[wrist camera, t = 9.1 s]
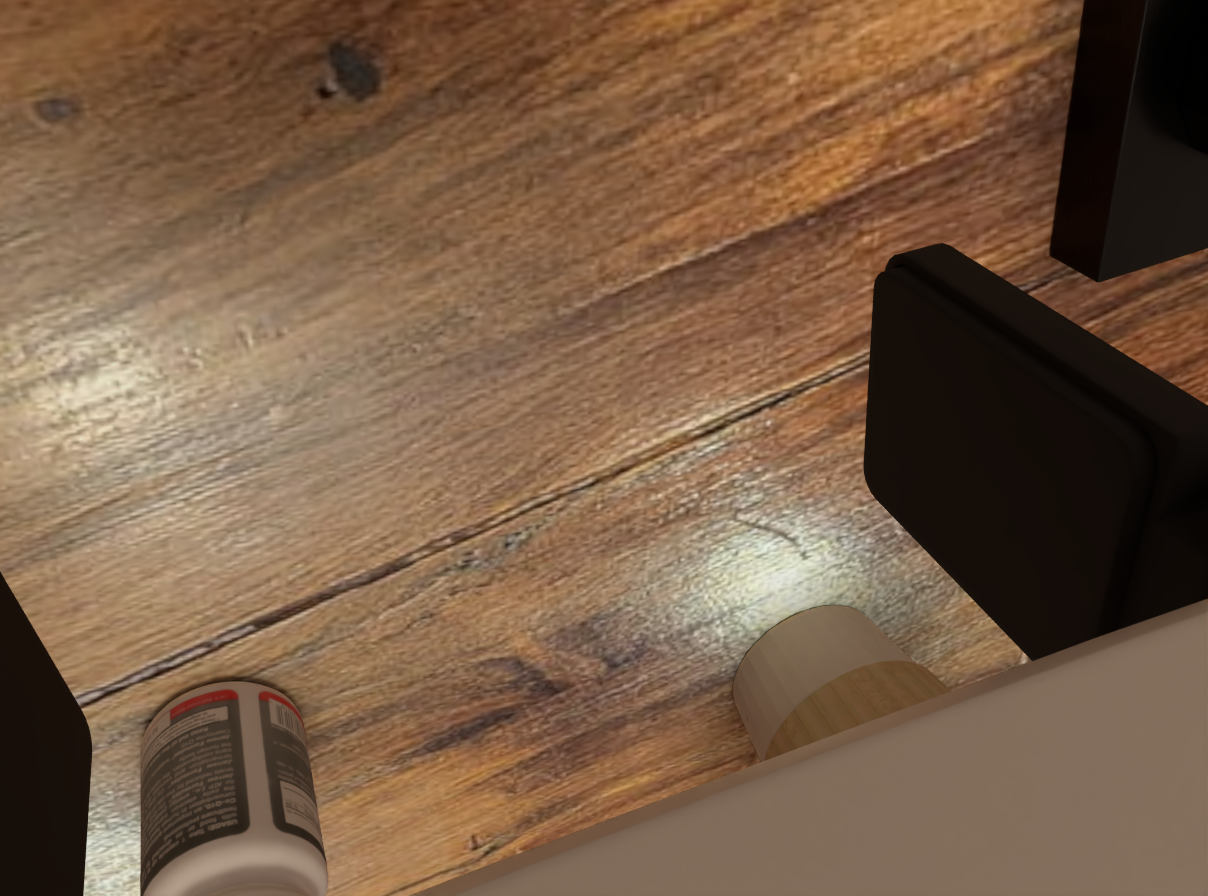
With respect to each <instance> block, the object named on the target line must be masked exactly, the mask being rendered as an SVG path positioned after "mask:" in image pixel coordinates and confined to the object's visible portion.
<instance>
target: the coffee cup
mask: <svg viewBox="0 0 1208 896" xmlns="http://www.w3.org/2000/svg"><path fill="white" fill-rule="evenodd" d="M948 692H951V690H950V689H949V688H948V687H947V686H945V685H944V684H943V683H942V682H941V681H940V680H939V679H938V678H937V677H936V676H935V675H934V674H932V673H931V672H930V671H929V670H927V669H926V668H925V667H923V666H921V665H918V664H916V663H915V662H914V661H913V660H912V659H911V658H910V657H909V656H908V655H907V654H906V653H905V652H904V651H903V650H901V649H900V648H899V647H898V646H897V645H896V644H895V643H894V642H893V641H892V640H891V639H890V638H889V637H888V636H887V635H885V634H884V633H883V632H882V631H881V630H880V629H879V628H878V627H877V626H876V625H875V624H874V623H873V622H872V621H871V620H869V619H868V618H867V617H866V616H865V615H864V614H863V613H861V612H860V611H858V610H856V609H854V608H851V607H847V606H841V605H828V606H821V607H816V608H811V609H808V610H806V611H803V612H800V613H798V614H795V615H793V616H791V617H790V618H788V619H786V620H784V621H782V622H780V623H779V624H778V625H776V626H775V627H773V628H772V629H771V630H769V631H768V632H767V633H766V634H765V635H764V636H762V637H761V638H760V639H759V640H758V641H757V642H756V643H755V644H754V645H753V647H752V648H751V649H750V650H749V652H748V653H747V654H746V656H745V657H744V659H743V661H742V662H741V664H740V665H739V668H738V670H737V673H736V675H735V678H734V684H733V700H734V703H735V705H736V707H737V710H738V712H739V714H740V716H741V719H742V721H743V723H744V725H745V728H746V730H747V732H748V734H749V737H750V739H751V741H752V743H753V746H754V748H755V750H756V752H757V755H758V757H759V759H760V761H761V762H763V761H766V760H768V759H771V758H774V757H776V756H779V755H782V754H784V753H787V752H790V751H792V750H795V749H798V748H800V747H803V746H806V745H808V744H811V743H814V742H816V741H819V740H822V739H824V738H827V737H830V736H832V735H835V734H838V733H840V732H843V731H846V730H848V729H851V728H854V727H856V726H859V725H862V724H864V723H867V722H870V721H872V720H875V719H878V718H880V717H883V716H886V715H889V714H891V713H894V712H897V711H899V710H902V709H905V708H908V707H910V706H913V705H916V704H918V703H921V702H924V701H926V700H929V699H932V698H935V697H937V696H940V695H943V694H945V693H948Z"/></svg>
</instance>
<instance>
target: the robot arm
mask: <svg viewBox="0 0 1208 896" xmlns="http://www.w3.org/2000/svg"><path fill="white" fill-rule="evenodd" d="M864 475H865V480H866V482H867V485H868V488H869V489H870V491H871V493H872V495H873V496H874V497H875V498H876V500H877V501H878V502H879V503H880V504H881V505H882V506H883V507H884V508H885V509H886V510H887V511H888V512H889V513H890V514H891V515H892V516H893V517H894V518H895V519H896V520H897V521H898V522H899V523H900V524H901V525H902V527H903V528H904V529H905V530H906V531H907V532H908V533H909V534H910V535H911V536H912V537H913V538H914V539H915V540H916V541H917V542H918V543H919V544H920V545H921V546H922V547H923V548H924V549H925V550H926V551H927V552H928V553H929V554H930V556H931V557H932V558H933V559H934V560H935V561H936V562H937V563H938V564H939V565H940V566H941V567H942V568H943V569H944V570H945V571H946V572H947V573H948V574H949V575H950V576H951V577H952V578H953V579H954V580H955V581H956V582H957V583H958V585H959V586H960V587H961V588H962V589H963V590H964V591H965V592H966V593H967V594H968V595H969V596H970V597H971V598H972V599H973V600H974V601H975V602H976V603H977V604H978V605H979V606H980V607H981V608H982V609H983V610H984V611H985V612H986V613H987V615H988V616H989V617H990V618H991V619H992V620H993V621H994V622H995V623H996V624H997V625H998V626H999V627H1000V628H1001V629H1002V630H1003V631H1004V632H1005V633H1006V634H1007V635H1008V636H1009V637H1010V638H1011V639H1012V640H1013V641H1014V642H1015V644H1016V645H1017V646H1018V647H1019V648H1020V649H1021V650H1022V651H1023V652H1024V653H1025V654H1026V655H1027V656H1028V657H1029V658H1030V659H1031V660H1032V662H1029V663H1026V664H1024V665H1021V666H1018V667H1016V668H1013V669H1010V670H1008V671H1005V672H1002V673H999V674H997V675H994V676H991V677H989V678H986V679H983V680H981V681H978V682H975V683H972V684H970V685H967V686H964V687H962V688H959V689H956V690H953V691H951V692H948V693H945V694H943V695H940V696H937V697H935V698H932V699H929V700H926V701H924V702H921V703H918V704H916V705H913V706H910V707H908V708H905V709H902V710H899V711H897V712H894V713H891V714H889V715H886V716H883V717H880V718H878V719H875V720H872V721H870V722H867V723H864V724H862V725H859V726H856V727H854V728H851V729H848V730H846V731H843V732H840V733H838V734H835V735H832V736H830V737H827V738H824V739H822V740H819V741H816V742H814V743H811V744H808V745H806V746H803V747H800V748H798V749H795V750H792V751H790V752H787V753H784V754H782V755H779V756H776V757H774V758H771V759H768V760H766V761H763V762H760V763H758V764H755V765H752V766H750V767H747V768H744V769H742V770H739V771H736V772H734V773H731V774H728V775H726V776H723V777H720V778H718V779H715V780H712V781H710V782H707V783H704V784H702V785H699V786H697V787H694V788H691V789H689V790H686V791H683V792H681V793H678V794H675V795H673V796H670V797H667V798H665V799H662V800H659V801H657V802H654V803H651V804H649V805H646V806H644V807H641V808H638V809H636V810H633V811H630V812H628V813H625V814H622V815H620V816H617V817H614V818H612V819H609V820H606V821H604V822H601V823H598V824H596V825H593V826H590V827H588V828H585V829H583V830H580V831H577V832H575V833H572V834H569V835H567V836H564V837H561V838H559V839H556V840H553V841H551V842H548V843H546V844H543V845H540V846H538V847H535V848H532V849H530V850H527V851H525V852H522V853H519V854H517V855H514V856H512V857H509V858H506V859H504V860H501V861H498V862H496V863H493V864H491V865H488V866H485V867H483V868H480V869H478V870H475V871H472V872H470V873H467V874H464V875H462V876H459V877H457V878H454V879H451V880H449V881H446V882H444V883H441V884H438V885H436V886H433V887H430V888H428V889H425V890H423V891H420V892H417V893H415V894H412V895H410V896H1208V406H1207V405H1206V404H1204V403H1203V402H1201V401H1199V400H1198V399H1196V398H1194V397H1193V396H1191V395H1190V394H1188V393H1186V392H1185V391H1183V390H1182V389H1180V388H1178V387H1177V386H1175V385H1174V384H1172V383H1170V382H1169V381H1167V380H1165V379H1164V378H1162V377H1161V376H1159V375H1157V374H1156V373H1154V372H1153V371H1151V370H1149V369H1148V368H1146V367H1145V366H1143V365H1141V364H1140V363H1138V362H1136V361H1135V360H1133V359H1132V358H1130V357H1128V356H1127V355H1125V354H1124V353H1122V352H1120V351H1119V350H1117V349H1116V348H1114V347H1112V346H1111V345H1109V344H1107V343H1106V342H1104V341H1103V340H1101V339H1099V338H1098V337H1096V336H1095V335H1093V334H1091V333H1090V332H1088V331H1087V330H1085V329H1083V328H1082V327H1080V326H1078V325H1077V324H1075V323H1074V322H1072V321H1070V320H1069V319H1067V318H1066V317H1064V316H1062V315H1061V314H1059V313H1058V312H1056V311H1054V310H1053V309H1051V308H1049V307H1048V306H1046V305H1045V304H1043V303H1041V302H1040V301H1038V300H1037V299H1035V298H1033V297H1032V296H1030V295H1029V294H1027V293H1025V292H1024V291H1022V290H1020V289H1019V288H1017V287H1016V286H1014V285H1012V284H1011V283H1009V282H1008V281H1006V280H1004V279H1003V278H1001V277H1000V276H998V275H996V274H995V273H993V272H991V271H990V270H988V269H987V268H985V267H983V266H982V265H980V264H979V263H977V262H975V261H974V260H972V259H970V258H969V257H967V256H966V255H964V254H962V253H961V252H959V251H958V250H956V249H954V248H953V247H951V246H949V245H947V244H944V243H940V244H935V245H931V246H927V247H924V248H920V249H916V250H912V251H909V252H905V253H901V254H897V255H894V256H893V257H892V258H891V259H890V260H889V261H888V263H887V266H886V268H885V271H884V272H881V273H880V274H879V275H878V276H877V278H876V280H875V284H874V293H873V311H872V328H871V345H870V363H869V380H868V398H867V415H866V433H865V450H864ZM91 762H92V741H91V735H90V730H89V726H88V724H87V721H86V718H85V716H84V714H83V712H82V710H81V708H80V707H79V705H78V703H77V701H76V700H75V698H74V696H73V695H72V693H71V691H70V690H69V688H68V686H67V684H66V683H65V681H64V679H63V678H62V676H61V674H60V673H59V671H58V669H57V667H56V666H55V664H54V662H53V661H52V659H51V657H50V655H49V654H48V652H47V650H46V649H45V647H44V645H43V644H42V642H41V640H40V638H39V637H38V635H37V633H36V632H35V630H34V628H33V627H32V625H31V623H30V621H29V620H28V618H27V616H26V615H25V613H24V611H23V610H22V608H21V606H20V604H19V603H18V601H17V599H16V598H15V596H14V594H13V593H12V591H11V589H10V587H9V586H8V584H7V582H6V581H5V579H4V577H3V576H2V574H1V572H0V896H83V891H84V875H85V859H86V842H87V826H88V810H89V794H90V778H91Z"/></svg>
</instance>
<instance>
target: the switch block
mask: <svg viewBox="0 0 1208 896" xmlns="http://www.w3.org/2000/svg"><path fill="white" fill-rule="evenodd" d="M1206 248H1208V0H1086V4H1085V11H1084V19H1083V26H1082V33H1081V40H1080V47H1079V54H1078V62H1077V69H1076V76H1075V83H1074V90H1073V98H1072V105H1071V112H1070V119H1069V126H1068V133H1067V141H1066V148H1065V155H1064V162H1063V169H1062V176H1061V184H1060V191H1059V198H1058V205H1057V212H1056V220H1055V227H1054V234H1053V241H1052V248H1051V257H1053V258H1055V259H1057V260H1059V261H1060V262H1062V263H1064V264H1066V265H1067V266H1069V267H1071V268H1073V269H1074V270H1076V271H1078V272H1080V273H1082V274H1083V275H1085V276H1087V277H1089V278H1090V279H1092V280H1094V281H1096V282H1102V281H1105V280H1108V279H1112V278H1115V277H1118V276H1121V275H1124V274H1127V273H1131V272H1134V271H1137V270H1140V269H1143V268H1146V267H1150V266H1153V265H1156V264H1159V263H1162V262H1165V261H1169V260H1172V259H1175V258H1178V257H1181V256H1184V255H1187V254H1191V253H1194V252H1197V251H1200V250H1203V249H1206Z"/></svg>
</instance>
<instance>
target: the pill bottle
mask: <svg viewBox="0 0 1208 896" xmlns="http://www.w3.org/2000/svg"><path fill="white" fill-rule="evenodd" d="M140 775H141V777H140V778H141V875H140V890H141V896H326V893H327V887H328V873H327V863H326V858H325V852H324V847H323V841H322V834H321V828H320V823H319V815H318V810H317V804H316V798H315V792H314V786H313V779H312V773H311V767H310V761H309V754H308V748H307V741H306V736H305V730H304V725H303V721H302V718H301V715H300V713H299V711H298V709H297V707H296V706H295V705H294V703H293V702H292V701H291V700H290V699H289V698H288V697H286V696H285V695H284V694H282V693H281V692H279V691H277V690H275V689H272V688H270V687H267V686H263V685H260V684H255V683H249V682H236V681H232V682H220V683H214V684H209V685H206V686H202V687H199V688H196V689H193V690H191V691H189V692H187V693H185V694H183V695H181V696H179V697H177V698H176V699H174V700H173V701H172V702H170V703H169V704H167V705H166V706H165V707H164V708H163V709H162V710H161V711H160V712H159V713H158V714H157V715H156V717H155V718H154V719H153V720H152V722H151V723H150V725H149V726H148V728H147V730H146V732H145V734H144V737H143V740H142V745H141V772H140Z"/></svg>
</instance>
